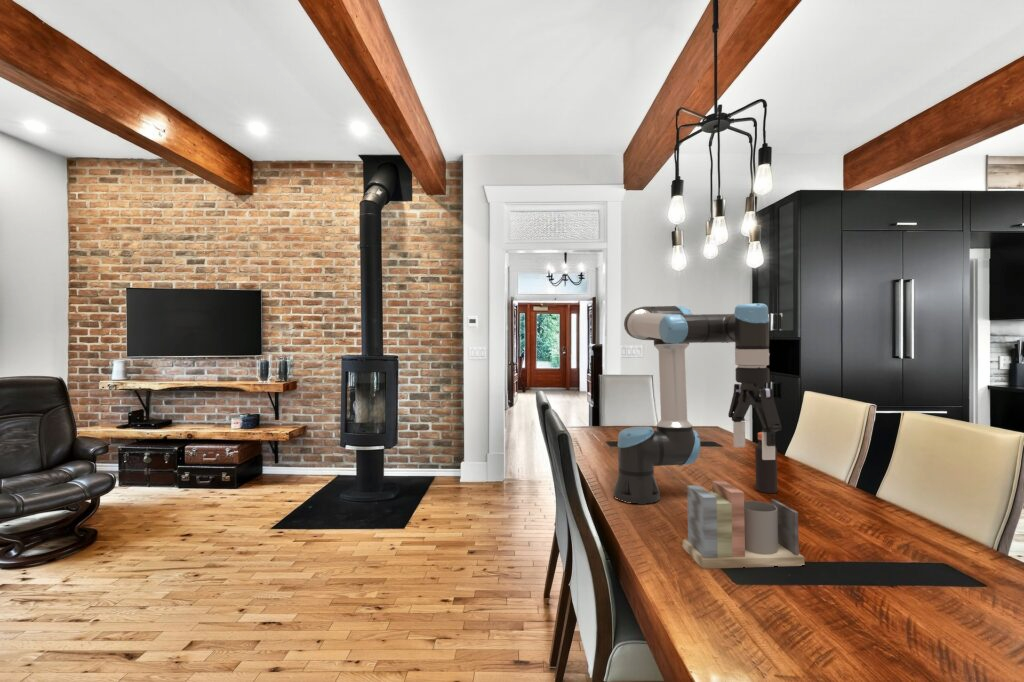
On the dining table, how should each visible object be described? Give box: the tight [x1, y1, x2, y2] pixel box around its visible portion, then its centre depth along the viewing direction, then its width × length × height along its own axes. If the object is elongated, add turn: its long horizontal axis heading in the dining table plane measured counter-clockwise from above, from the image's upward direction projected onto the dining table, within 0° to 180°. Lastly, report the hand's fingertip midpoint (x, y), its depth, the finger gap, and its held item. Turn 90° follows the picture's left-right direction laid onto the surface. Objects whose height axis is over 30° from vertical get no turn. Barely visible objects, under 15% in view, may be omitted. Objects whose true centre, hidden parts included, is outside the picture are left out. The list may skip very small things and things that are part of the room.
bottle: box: [754, 431, 778, 494], centre depth 172 cm, size 7×7×20 cm
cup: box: [744, 500, 778, 555], centre depth 120 cm, size 8×8×10 cm
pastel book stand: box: [682, 480, 805, 570], centre depth 120 cm, size 12×24×17 cm, turn 92°
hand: (753, 453), depth 122 cm, fingers open, 13 cm apart
